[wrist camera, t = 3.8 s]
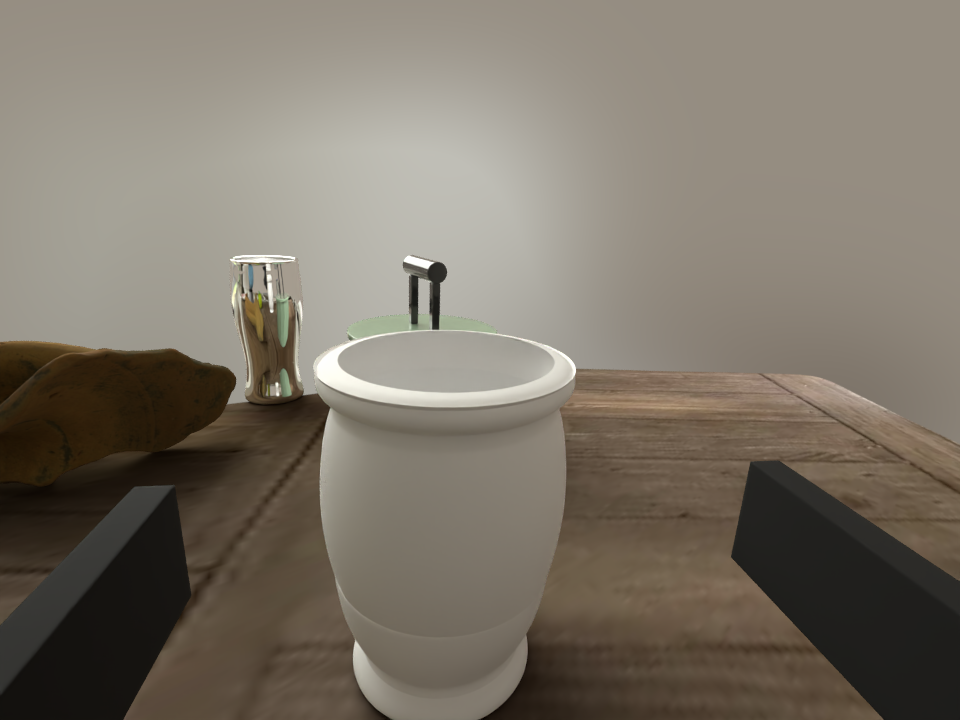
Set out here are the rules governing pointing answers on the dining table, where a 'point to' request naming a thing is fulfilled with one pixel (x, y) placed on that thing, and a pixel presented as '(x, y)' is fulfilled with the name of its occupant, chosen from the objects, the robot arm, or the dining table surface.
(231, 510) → the dining table surface
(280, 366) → the beer glass
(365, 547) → the jar
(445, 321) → the pot lid
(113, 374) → the brown looped sculpture
